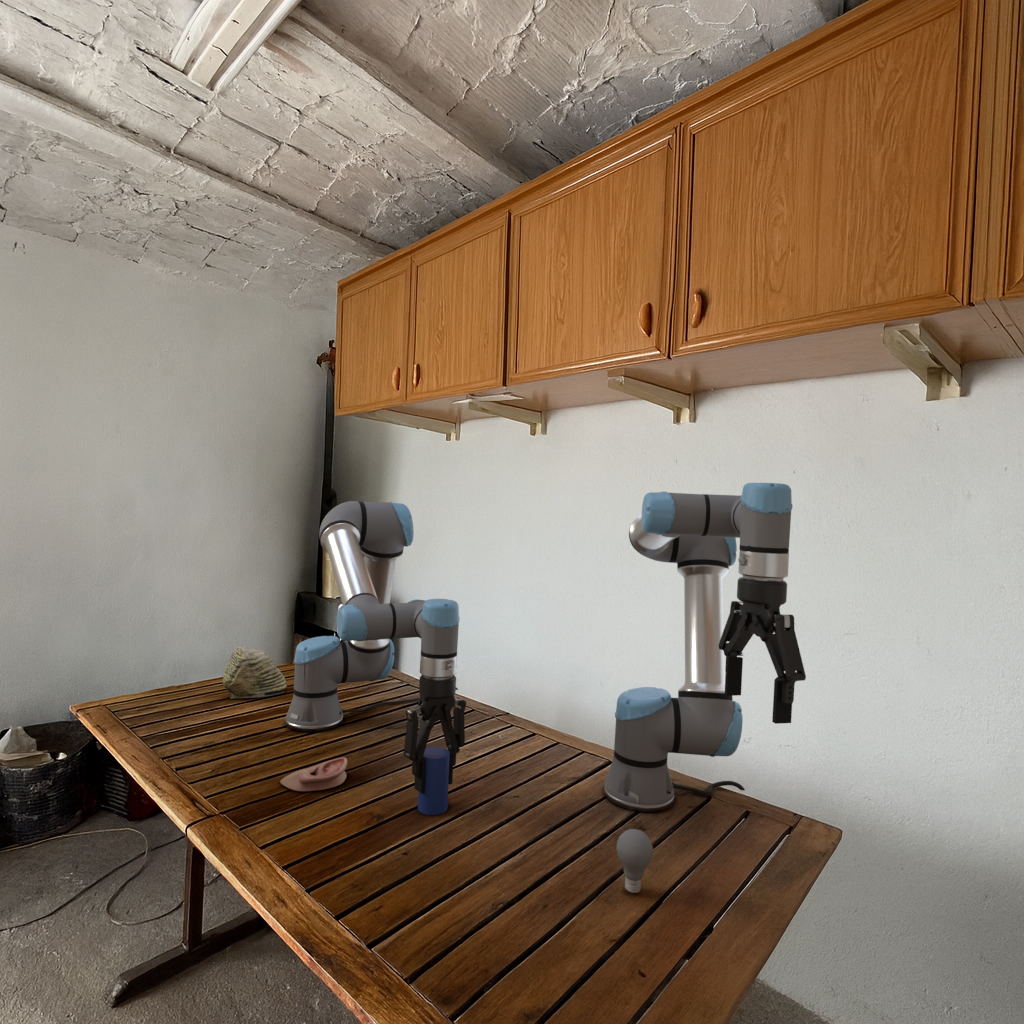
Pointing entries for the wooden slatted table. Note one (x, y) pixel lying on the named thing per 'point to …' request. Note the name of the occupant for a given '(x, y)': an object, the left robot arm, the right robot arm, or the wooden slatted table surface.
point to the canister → (435, 782)
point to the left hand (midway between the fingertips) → (433, 785)
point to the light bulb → (634, 857)
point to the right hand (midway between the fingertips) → (755, 708)
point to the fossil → (252, 674)
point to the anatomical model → (317, 776)
